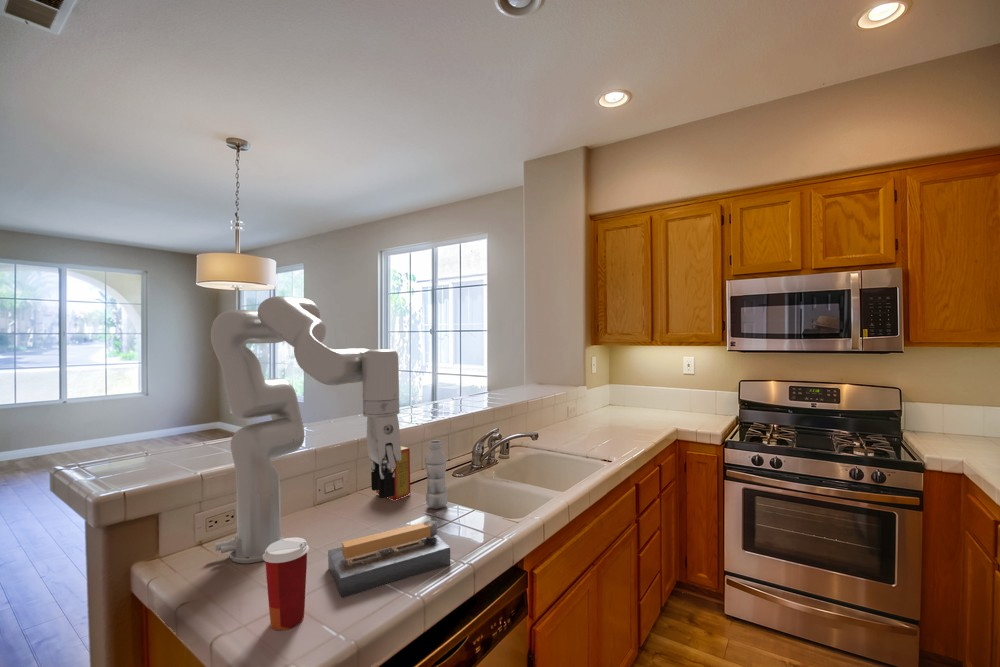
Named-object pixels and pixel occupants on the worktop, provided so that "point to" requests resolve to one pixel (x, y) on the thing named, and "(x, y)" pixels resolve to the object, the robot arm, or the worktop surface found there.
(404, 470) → the red and yellow box
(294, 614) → the paper cup
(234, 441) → the robot arm
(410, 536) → the light orange bar
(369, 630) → the worktop surface
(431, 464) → the plastic bottle
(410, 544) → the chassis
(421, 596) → the worktop surface
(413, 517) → the worktop surface
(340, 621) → the worktop surface
